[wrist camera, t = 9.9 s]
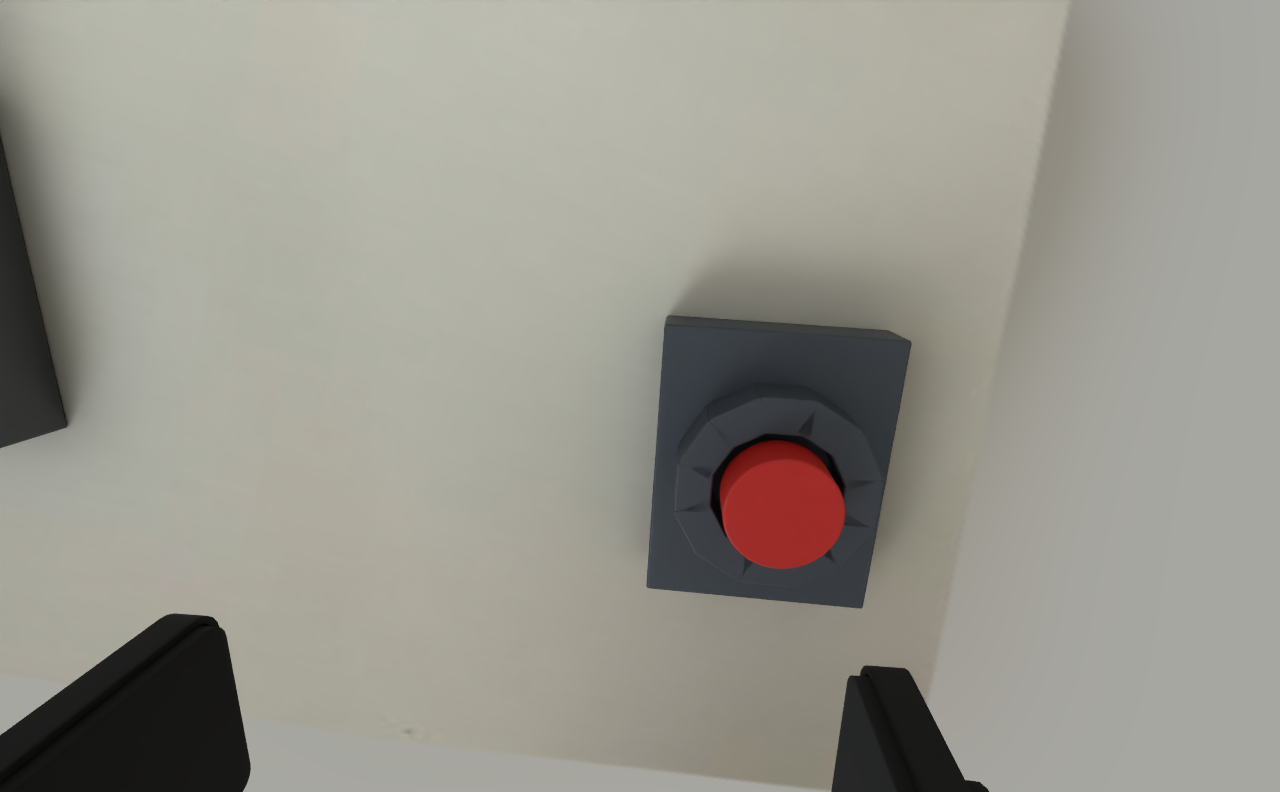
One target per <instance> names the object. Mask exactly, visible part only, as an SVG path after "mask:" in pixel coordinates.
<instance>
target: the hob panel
mask: <svg viewBox="0 0 1280 792" xmlns="http://www.w3.org/2000/svg"><path fill="white" fill-rule="evenodd" d="M66 427H67V425H66V421H65V417H64V412H63V408H62V404H61V399H60V395H59V391H58V386H57V382H56V378H55V374H54V369H53V365H52V361H51V356H50V352H49V348H48V343H47V339H46V335H45V330H44V326H43V322H42V317H41V313H40V309H39V304H38V300H37V296H36V291H35V287H34V283H33V279H32V274H31V270H30V266H29V261H28V257H27V253H26V248H25V244H24V240H23V235H22V231H21V227H20V222H19V218H18V214H17V209H16V205H15V201H14V196H13V192H12V188H11V184H10V179H9V175H8V171H7V166H6V162H5V158H4V153H3V149H2V145H1V140H0V448H2V447H6V446H9V445H12V444H15V443H18V442H22V441H25V440H28V439H31V438H34V437H38V436H41V435H44V434H47V433H50V432H54V431H57V430H60V429H63V428H66Z"/></svg>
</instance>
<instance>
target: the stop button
mask: <svg viewBox="0 0 1280 792" xmlns="http://www.w3.org/2000/svg"><path fill="white" fill-rule="evenodd" d="M720 503H721V511H722V519H723V525H724V529H725V532H726V534H727V537H728V539H729V540H730V542H731V544H732V545H733V546H734V547H735V549H736V550H737V551H738V552H739V553H740V554H742V555H743V556H744V557H746V558H747V559H749V560H750V561H752V562H754V563H756V564H759V565H761V566H765V567H769V568H775V569H789V568H796V567H800V566H804V565H807V564H809V563H811V562H813V561H815V560H817V559H818V558H820V557H821V556H823V555H824V554H825V553H826V552H827V551H828V550H829V549H830V548H831V547H832V546H833V545H834V544H835V542H836V541H837V539H838V537H839V536H840V533H841V531H842V528H843V525H844V520H845V504H844V500H843V496H842V494H841V491H840V489H839V488H838V486H837V484H836V482H835V481H834V479H833V477H832V476H831V474H830V472H829V471H828V469H827V467H826V466H825V464H824V463H823V461H822V460H821V459H820V458H819V457H818V456H817V455H816V454H815V453H814V452H812V451H811V450H810V449H808V448H806V447H804V446H802V445H800V444H797V443H794V442H790V441H784V440H772V441H765V442H760V443H757V444H755V445H752V446H750V447H748V448H746V449H745V450H743V451H742V452H740V453H739V454H738V455H737V456H736V457H735V458H734V459H733V460H732V461H731V462H730V463H729V465H728V466H727V468H726V470H725V472H724V474H723V476H722V479H721V484H720Z"/></svg>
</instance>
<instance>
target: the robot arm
mask: <svg viewBox="0 0 1280 792" xmlns="http://www.w3.org/2000/svg"><path fill="white" fill-rule="evenodd" d="M250 769H251V768H250V759H249V754H248V749H247V743H246V738H245V733H244V727H243V722H242V717H241V711H240V706H239V701H238V695H237V690H236V685H235V679H234V674H233V669H232V663H231V658H230V653H229V647H228V642H227V637H226V634H225V631H224V630H223V629H222V628H219V625H218V622H217V621H216V620H215V619H214V618H213V617H209V616H201V615H187V614H169V615H166V616H164V617H163V618H161V619H159V620H158V621H156V622H155V623H154V624H152V625H151V626H149V627H148V628H147V629H145V630H144V631H143V632H141V633H140V634H138V635H137V636H136V637H134V638H133V639H132V640H130V641H129V642H128V643H126V644H125V645H123V646H122V647H121V648H119V649H118V650H117V651H115V652H114V653H112V654H111V655H110V656H108V657H107V658H106V659H104V660H103V661H101V662H100V663H99V664H97V665H96V666H95V667H93V668H92V669H91V670H89V671H88V672H86V673H85V674H84V675H82V676H81V677H80V678H78V679H77V680H75V681H74V682H73V683H71V684H70V685H69V686H67V687H66V688H64V689H63V690H62V691H60V692H59V693H58V694H57V695H55V696H54V697H52V698H51V699H50V700H48V701H47V702H45V703H44V704H43V705H41V706H40V707H38V708H37V709H36V710H34V711H33V712H32V713H31V714H29V715H27V716H26V717H25V718H24V719H22V720H21V721H19V722H18V723H17V724H15V725H14V726H13V727H11V728H10V729H8V730H7V731H6V732H4V733H3V734H1V735H0V792H243V790H244V788H245V786H246V784H247V782H248V779H249V776H250ZM831 792H989V791H988V789H987V788H986V787H985V786H983V785H982V784H981V783H980V782H976V781H967V780H965V779H964V777H963V775H962V773H961V772H960V769H959V768H958V766H957V764H956V762H955V760H954V758H953V756H952V754H951V752H950V750H949V748H948V746H947V744H946V742H945V740H944V738H943V736H942V734H941V732H940V730H939V728H938V726H937V724H936V722H935V721H934V719H933V716H932V715H931V713H930V711H929V709H928V707H927V705H926V703H925V701H924V699H923V697H922V695H921V693H920V691H919V689H918V687H917V685H916V683H915V681H914V679H913V677H912V676H911V674H910V672H909V671H908V670H906V669H905V668H894V667H880V666H867V665H866V666H863V668H862V670H861V673H860V676H853V675H851V676H849V678H848V682H847V688H846V695H845V701H844V708H843V715H842V722H841V729H840V736H839V743H838V750H837V757H836V764H835V771H834V777H833V784H832V791H831Z"/></svg>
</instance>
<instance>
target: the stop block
mask: <svg viewBox="0 0 1280 792" xmlns="http://www.w3.org/2000/svg"><path fill="white" fill-rule="evenodd" d="M910 349H911V341H909V340H907V339H905V338H903V337H901V336H899V335H897V334H895V333H893V332H890V331H887V330H873V329H858V328H844V327H829V326H815V325H800V324H786V323H771V322H757V321H742V320H728V319H713V318H699V317H684V316H670V315H669V316H667V318H666V323H665V328H664V342H663V356H662V371H661V385H660V399H659V413H658V428H657V442H656V456H655V470H654V485H653V499H652V513H651V527H650V542H649V556H648V570H647V584H646V585H647V588H653V589H663V590H674V591H684V592H694V593H705V594H715V595H726V596H736V597H747V598H757V599H767V600H778V601H788V602H799V603H809V604H819V605H830V606H840V607H851V608H862V607H863V602H864V597H865V592H866V586H867V581H868V575H869V570H870V565H871V559H872V554H873V548H874V543H875V538H876V532H877V527H878V521H879V516H880V511H881V505H882V500H883V494H884V489H885V484H886V478H887V473H888V467H889V462H890V457H891V451H892V446H893V440H894V435H895V430H896V424H897V419H898V413H899V408H900V403H901V397H902V392H903V386H904V381H905V376H906V370H907V365H908V359H909V354H910ZM772 440H784V441H790V442H794V443H797V444H800V445H802V446H804V447H806V448H808V449H810V450H811V451H812V452H814V453H815V454H816V455H817V456H818V457H819V458H820V459H821V460H822V461H823V463H824V464H825V466H826V467H827V469H828V471H829V472H830V474H831V476H832V477H833V479H834V481H835V482H836V484H837V486H838V488H839V489H840V491H841V494H842V496H843V500H844V504H845V520H844V525H843V528H842V531H841V533H840V536H839V537H838V539H837V541H836V542H835V544H834V545H833V546H832V547H831V548H830V549H829V550H828V551H827V552H826V553H825V554H824V555H823V556H821V557H820V558H818V559H817V560H815V561H813V562H811V563H809V564H807V565H804V566H800V567H796V568H789V569H775V568H769V567H765V566H761V565H759V564H756V563H754V562H752V561H750V560H749V559H747V558H746V557H744V556H743V555H742V554H740V553H739V552H738V551H737V550H736V549H735V547H734V546H733V545H732V544H731V542H730V540H729V539H728V537H727V534H726V532H725V529H724V525H723V519H722V511H721V503H720V484H721V479H722V476H723V474H724V472H725V470H726V468H727V466H728V465H729V463H730V462H731V461H732V460H733V459H734V458H735V457H736V456H737V455H738V454H739V453H740V452H742V451H743V450H745V449H746V448H748V447H750V446H752V445H755V444H757V443H760V442H765V441H772Z"/></svg>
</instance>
